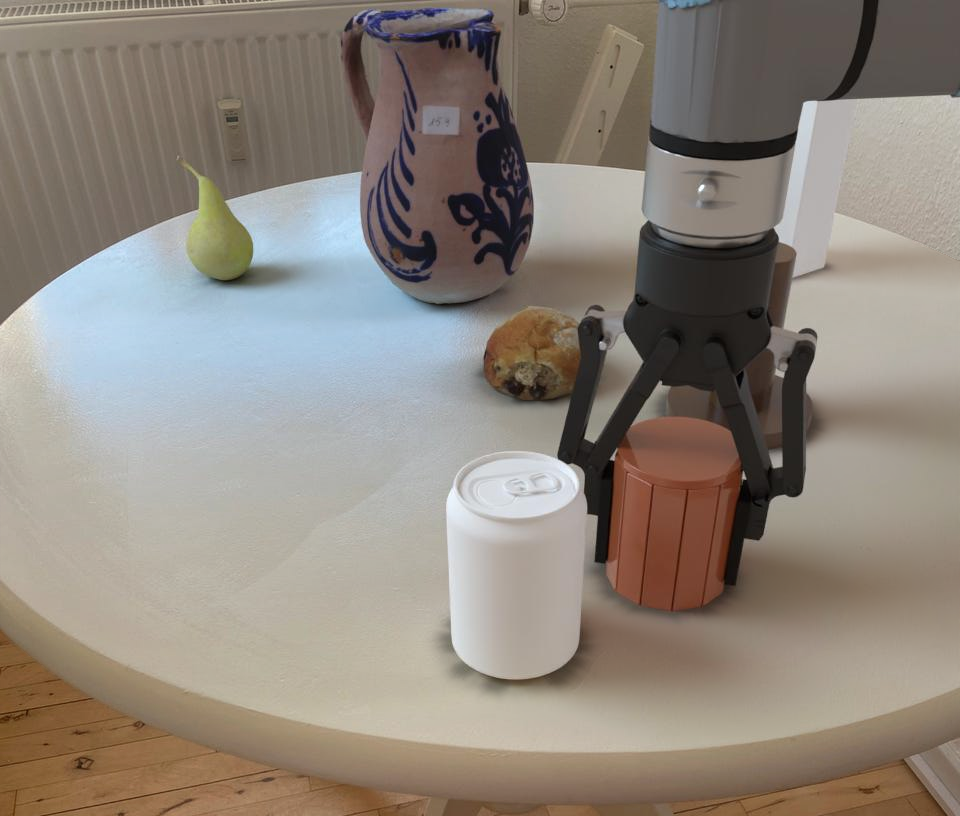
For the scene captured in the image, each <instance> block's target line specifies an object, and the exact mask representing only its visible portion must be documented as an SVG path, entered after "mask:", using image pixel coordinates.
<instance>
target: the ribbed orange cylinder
mask: <svg viewBox="0 0 960 816" xmlns="http://www.w3.org/2000/svg"><path fill="white" fill-rule="evenodd" d="M614 461H615V463H614V476H613V489H612V502H611V514H610V527H609V540H608V552H607V561H606V564H605V567H606V568H605V574H606V576H607V578H608V580H609V582H610V584H611V586H612V588H613V589H614V591H616V593H617V594H619V595H621V596H622V597H624V598H625V599H627V600H629V601H630V602H633V603H634V604H636V605H638V606H639V605H640V606H641V607H646V608H651V609H657V610H663V611H669V612H671V611H673V612H675V611H683V610H687V609H694V608H700V607H702V606H705V605H707V604H709V603H710V602H711V601H712V600H714V599H716V598H717V597H718V596H720V595H722V593H723V591H724V587H725V584H724V580H725V574H726V568H727V563H728V557H729V551H730V545H731V539H732V534H733V528H734V522H735V516H736V510H737V505H738V499H739V495H740V490H741V486H742V481H743V479H744V475H745V474H744V470H743V467H742V464H741V461H740V458H739V455H738V452H737V449H736V445H735V442H734V439H733V436H732V433H731V431H730V430H728V429H726V428H724V427H722V426H720V425H718V424H715V423H712V422H709V421H705V420H701V419H696V418H689V417H667V416H662V417H661V416H660V417H653V418H649V419H646V420H642V421H640V422H637V423H634V424H632V425H631V426H630V428H629V430H628V431H627V433H626V434H625V436H624V438H623V439H622V441H621V442H620V444H619V446H618V447H617V449H616V451H615V453H614Z"/></svg>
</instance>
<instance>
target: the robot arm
mask: <svg viewBox="0 0 960 816" xmlns="http://www.w3.org/2000/svg"><path fill="white" fill-rule="evenodd" d="M657 1H658V7H657V20H656V21H657V24H656V36H655V54H654V67H653V82H652V97H651V113H650V114H651V115H650V121H649V131H648V137H647V138H648V139H647V149H646V157H645V158H646V160H645V168H644V179H643V188H642V189H643V190H642V200H641V213H642V214H643V216H644V218H645V219H646V222H645V223H644V224H643V225H642V226H641V228H640V230H639V234H638V235H639V237H638V248H637V258H636V259H637V260H636V273H635V281H634V282H635V283H634V294H633V299H632V301H631V303H629V305H628V307H627V309H619V310H605V309H604V307H603V306H602V305H600V304H593V305H590V306H589V307H588V308H587V310H586V311H585V313H584V315H583V317H582V319H581V320H580V322H579V326H578V339H579V347H580V355H581V359H580V363H579V367H578V372H577V376H576V380H575V384H574V388H573V392H572V395H570V399H569V404H568V408H567V413H566V416H565V420H564V426H563V429H562V433H561V437H560V440H559V441H560V442H559V446H558V449H557V452H556V454H557V455H556V458H557V459H558V460H560V461H562V462H564V463H565V464H567V465H568V466H569V465H571V464H572V465H574V466H577V467H578V468H580V469H581V470H582V471H583V474H584V481H583V482H584V483H583V484H584V485H583V492H584V494H585V497H586V501H587V515H590V516H595V517H597V520H596V535H595V538H596V539H595V547H594V549H595V550H594V563H596V564H602V565H606V564H607V552H608V540H609V527H610V514H611V502H612V489H613V476H614V463H615V459H612V457H613V455H615V453H616V452H617V447H618V446H619V444H620V442H621V441H622V439H623V438H624V436H625V434H626V433H627V431H628V430H629V428H630V427H631V426H633V424H634V422H635V420H636V418H637V417H638V415H639V413H640V412H641V410H642V409H643V407H644V406H645V404H646V403H647V401H648V399H650V397H651V396H652V395H653V393H654V391H655V389H656V388H657V386H658V385H659V383H660V382H661V386H663V387H671V386H672V387H677V386H686V385H688V386H691V387H694V388H697V389H699V390H703V391H711V392H714V390H716V393H717V397H718V400H719V403H720V406H721V408H723V409H724V411H725V414H726V417H727V420H728V424H729V427H730V430H731V433H732V436H733V439H734V442H735V445H736V449H737V452H738V455H739V458H740V461H741V464H742V467H743V470H744V474H743V475H744V477H745V479H744V478H743V480H742V486H741V490H740V495H739V499H738V505H737V510H736V516H735V522H734V528H733V534H732V539H731V545H730V551H729V557H728V563H727V568H726V574H725V580H724V585H725V586H726V585H727V586H733V587H736V584H737V579H738V574H739V569H740V564H741V559H742V554H743V548H744V542H745V540H750V541H757V542H758V541H759V542H760V540H761V539H762V538H763V536H764V535H765V529H766V524H767V518H768V514H769V509H770V504H771V502H772V500H774V499H775V498H776V497H779V496H786V497H788V498H798V497H799V496H801V495H802V494H803V491H804V485H805V479H806V478H805V477H806V471H807V432H806V393H807V377H808V375H809V373H810V370H811V367H812V365H813V363H814V360H815V357H816V356H815V355H816V351H817V346H818V345H817V344H818V338H819V337H818V333H817V332H816V330H814V329H813V328H811V327H805V328H802V329H800V330H799V331H798V332H795V331H792V330H788V329H785V328H783V329H782V328H778V327H775V326H773V323H772V319H771V317H770V315H769V311H768V301H769V295H770V290H771V284H772V278H773V272H774V266H775V260H776V254H777V249H778V243H779V237H778V234H777V233H776V232H775V229H774V228H773V227H775V226H776V225H778V224H779V223H780V222H781V220H782V219H783V214H784V208H785V202H786V197H787V191H788V185H789V179H790V174H791V168H792V162H793V156H794V150H795V145H796V143H795V142H796V139H797V133H798V126H799V121H800V117H801V112H802V108H803V103H804V102H807V101H832V100H845V99H857V100H867V99H887V98H888V99H890V98H911V97H915V98H916V97H937V96H938V97H939V96H950V97H951V98H952V99H955V98H957V99H958V98H960V0H657ZM623 333H625V334H626V336H627V338H628V339H629V341H630V343H631V344H632V346H633V348H634V349H635V350H636V352H637V354H638V355H639V357H640V358H641V360H642V363H641V364H640V366H639V368H638V370H637V372H636V374H635V375H634V377H633V379H632V380H631V382H630V383H629V385H628V387H627V389H626V390H625V392H624V394H623V395H622V397H621V399H620V400H619V402H618V404H617V405H616V407H615V409H614V410H613V412H612V414H611V416H610V417H609V419H608V421H606V424H605V426H604V427H603V429H602V430H601V432H600V434H599V436H598V437H597V439H596V440H595V441H594V442H592V441H590V440H588V439H587V438H585V437H586V433H587V429H588V425H589V422H590V419H591V414H592V410H593V407H594V404H595V403H594V402H595V399H596V394H597V391H598V388H599V384H600V379H601V376H602V372H603V368H604V365H605V361H606V357H607V354H608V353H607V352H608V351H610V350H611V349H613V348H614V347H615V345H616V343H617V341H618V338H619V335H620V334H623ZM766 348H767V349H769V350H771V351H772V353H773V354H774V365H775V367H776V370H778V371H779V372H781V373H784V374H783V378H784V379H783V384H782V446H781V457H782V460H781V461H782V462H781V463H782V466H778V467H774V466H773V462H772V459H771V456H770V453H769V449H767V446H766V442H765V439H764V436H763V432H762V429H761V426H760V423H759V419H758V416H757V413H756V409H755V406H754V403H753V399H752V396H751V393H750V390H749V386H748V377H747V373H746V370H745V368H746V367H747V366H748V365H749V364H750V363H751V362H752V361H753V360H754V359H755V358H756V357H757V356H758V355H759V354H760V353H761V352H762V351H763V350H765V349H766Z"/></svg>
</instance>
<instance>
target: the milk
mask: <svg viewBox="0 0 960 816" xmlns="http://www.w3.org/2000/svg"><path fill="white" fill-rule="evenodd" d="M857 103H858V99H845V100H832V101H807V102H804V103H803V108H802V112H801V117H800V121H799V126H798V133H797V139H796V142H795V143H796V145H795V150H794V156H793V162H792V168H791V174H790V179H789V185H788V191H787V197H786V202H785V208H784V214H783V219H782V220H781V222H780V223H779V224H778V225H776V226H775V227H773V228H774V229H775V232H776V233H777V234H778V237H779V242H781V243H784V244H787V245H789V246H791V247H792V248H794V249H795V251H796V253H797V256H796V261H795V267H794V272H793V278H792V279H794V278H796V277H799V276H803V275H805V274H808V273H811V272H814V271H818V270H820V269H823V268H825V266H826V265H825V264H826V260H827V254H828V249H829V246H830V240H831V234H832V230H833V225H834V220H835V216H836V209H837V204H838V199H839V194H840V189H841V183H842V179H843V174H844V168H845V165H846V164H845V163H846V159H847V155H848V149H849V143H850V138H851V133H852V130H853V129H852V128H853V125H854V124H853V123H854V118H855V113H856V108H857Z"/></svg>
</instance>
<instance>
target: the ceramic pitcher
mask: <svg viewBox="0 0 960 816" xmlns="http://www.w3.org/2000/svg"><path fill="white" fill-rule="evenodd" d="M494 17H495V14H494V11H491V10H490V9H488V8H484V7H479V8H457V7H456V8H454V7H451V6H447V7H446V6H445V7H429V8H428V7H423V8H419V9H404V10H400V11H396V10H381V9H379V8H376V9H364V10H362V11H361V10H360V12H358V13H356V14H355V15H353V16H351V17H350V19H349V21H348V22H347V23H346V25H345V26H344V29H343V31H342V33H341V39H340V59H341V66H342V72H343V75H344V79H345V83H346V87H347V88H346V89H347V92H348V95H349V97H350V98H349V99H350V101H351V103H352V106H353V109H354V113H355V115H356V118H357V121H358V123H359V126H360V129H361V131H362V134H363V137H364V139H365V141H366V145H365V149H364V155H363V156H364V157H363V164H362V170H361V177H360V191H359V212H360V213H359V214H360V224H361V230H362V234H363V239H364V243H365V245H366V247H367V248H368V251H369V253H370V254H371V256H372V258H373V260H374V261H375V263H376V264H377V265H378V267H379V268H380V270H381V271H382V273H384V275H385V276H386V277H387V279H389V281H390V282H391V283H392V285H394V286H395V287H396V288H398V289H399V290H400V291H402V292H403V293H406V294H407V295H409V296H410V297H412V298H414V299H417V300H419V301H422V302H424V303H428V304H437V305H443V304H460V303H461V304H463V303H467V302H472V301H476V300H478V299H482V298H485V297H487V296H489V295H491V294H493V293H494V292H496V291H497V290H498V289H499V290H500V288H502V286H504V285H505V284H506V283H507V282H508V281H509V280H510V279H511V278H512V277H513V275H515V273H516V272H517V271H518V270H519V269H520V266H521V264H522V263H523V261H524V259H525V257H526V254H527V251H528V250H529V246H530V244H531V239H532V234H533V228H534V219H535V217H534V215H535V211H534V210H535V205H534V203H535V202H534V201H535V200H534V194H533V187H532V182H531V177H530V172H529V167H528V164H527V161H526V157H525V153H524V148H523V145H522V141H521V137H520V134H519V131H518V128H517V124H516V121H515V117H514V114H513V110H512V107H511V104H510V102H509V99H508V97H507V94H506V91H505V89H504V86H503V82H502V78H501V74H500V68H499V61H498V53H499V44H500V40H501V35H502V31H501V28H500V27H499V25H498V24H496V23H494V22H493V19H494ZM365 32H366V34H367V35H368V36H369V37H370V38H371V41H372V42H373V43H374V44H375V45H376V47H377V49H378V52H379V56H380V77H379V84H378V88H377V92H376V99H375V100H374V97H373V95H372V93H371V89H370V88H371V87H370V85H369V81H368V75H367V73H366V68H365V64H364V61H363V59H364V58H363V53H362V52H363V51H362V41H363V36H364V33H365Z"/></svg>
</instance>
